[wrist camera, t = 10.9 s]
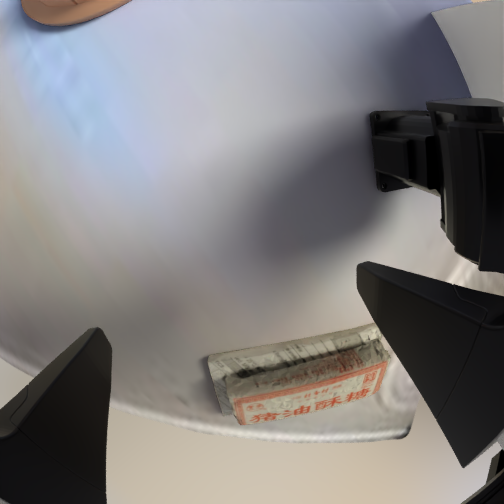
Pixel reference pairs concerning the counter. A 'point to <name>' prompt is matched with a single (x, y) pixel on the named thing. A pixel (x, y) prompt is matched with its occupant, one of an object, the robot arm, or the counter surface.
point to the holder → (68, 10)
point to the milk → (477, 44)
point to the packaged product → (299, 375)
